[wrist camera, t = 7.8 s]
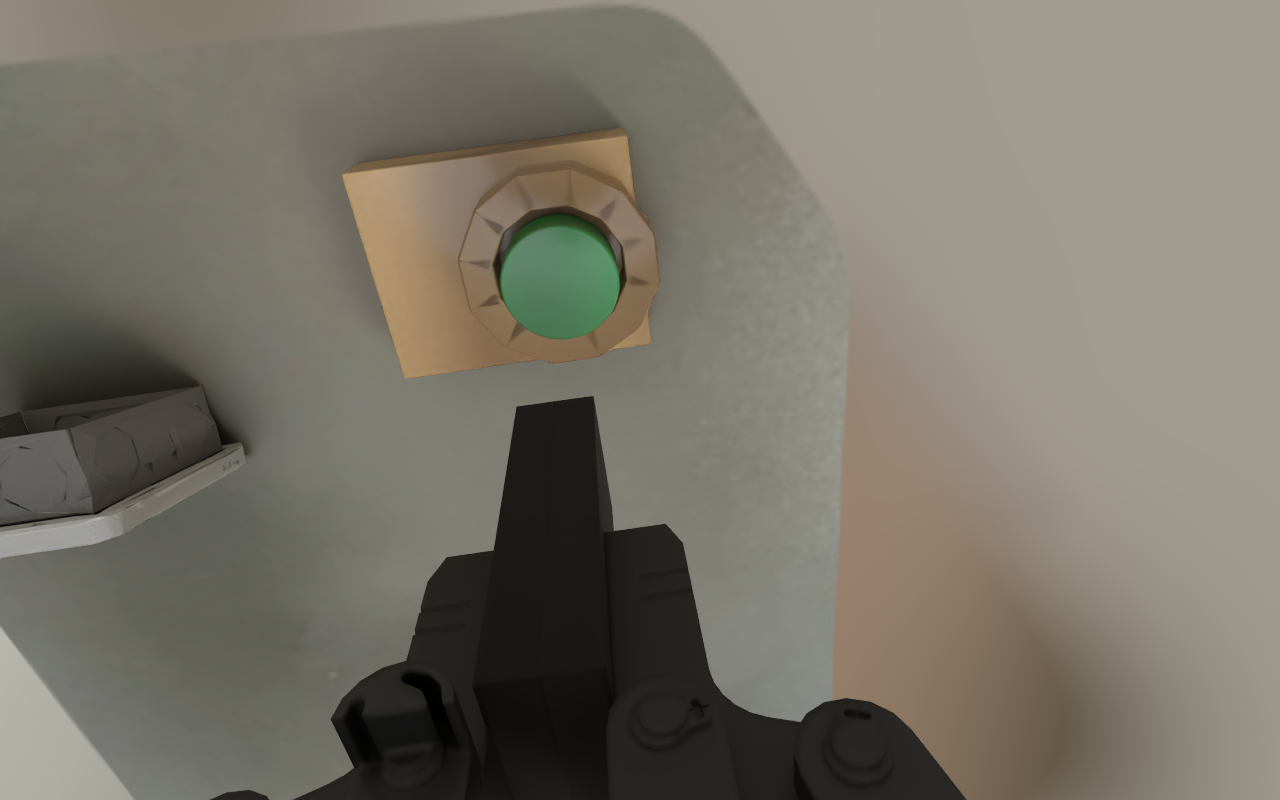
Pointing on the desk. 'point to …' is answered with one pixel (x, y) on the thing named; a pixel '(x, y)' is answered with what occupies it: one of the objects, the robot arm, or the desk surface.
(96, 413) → the electrical switch
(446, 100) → the desk surface
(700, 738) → the robot arm
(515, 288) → the power button
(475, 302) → the power button base
